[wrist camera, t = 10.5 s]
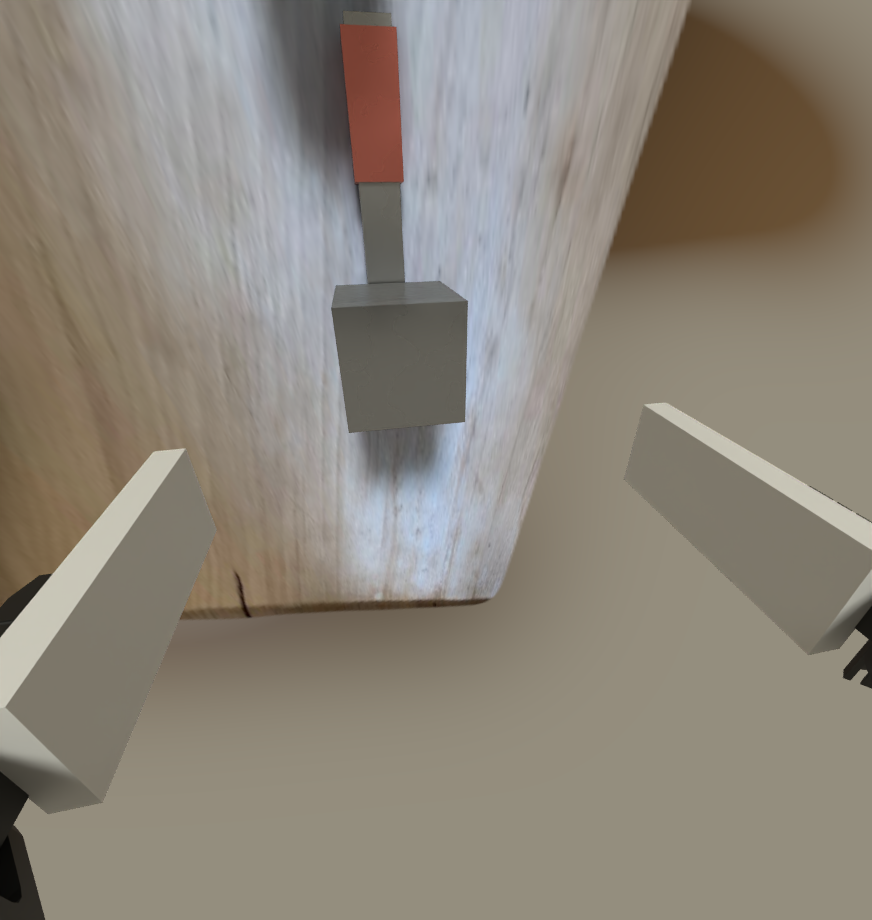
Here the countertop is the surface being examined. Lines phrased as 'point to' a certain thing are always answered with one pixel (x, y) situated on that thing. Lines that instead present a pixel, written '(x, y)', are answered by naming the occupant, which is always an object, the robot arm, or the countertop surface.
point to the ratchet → (375, 137)
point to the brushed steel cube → (401, 354)
